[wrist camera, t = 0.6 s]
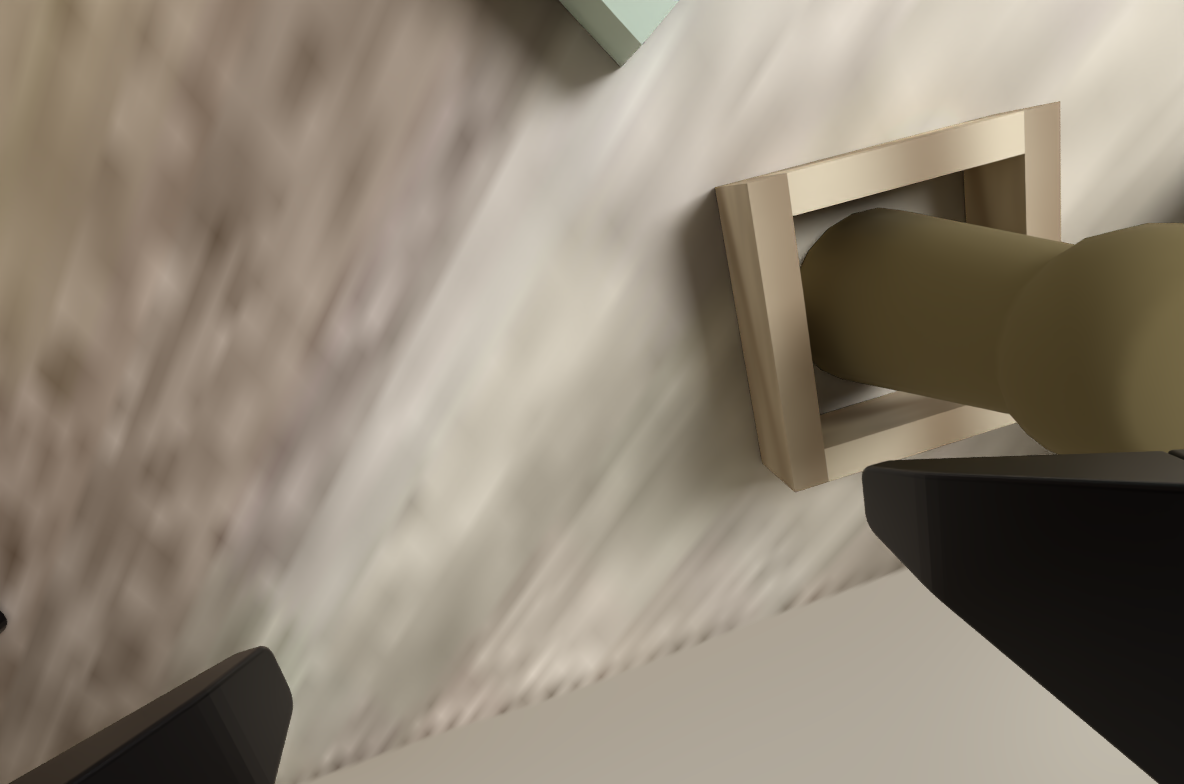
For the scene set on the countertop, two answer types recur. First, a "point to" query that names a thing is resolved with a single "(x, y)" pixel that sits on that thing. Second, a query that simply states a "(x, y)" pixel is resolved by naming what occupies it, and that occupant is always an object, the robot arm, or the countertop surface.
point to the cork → (1009, 323)
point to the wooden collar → (776, 302)
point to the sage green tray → (619, 22)
